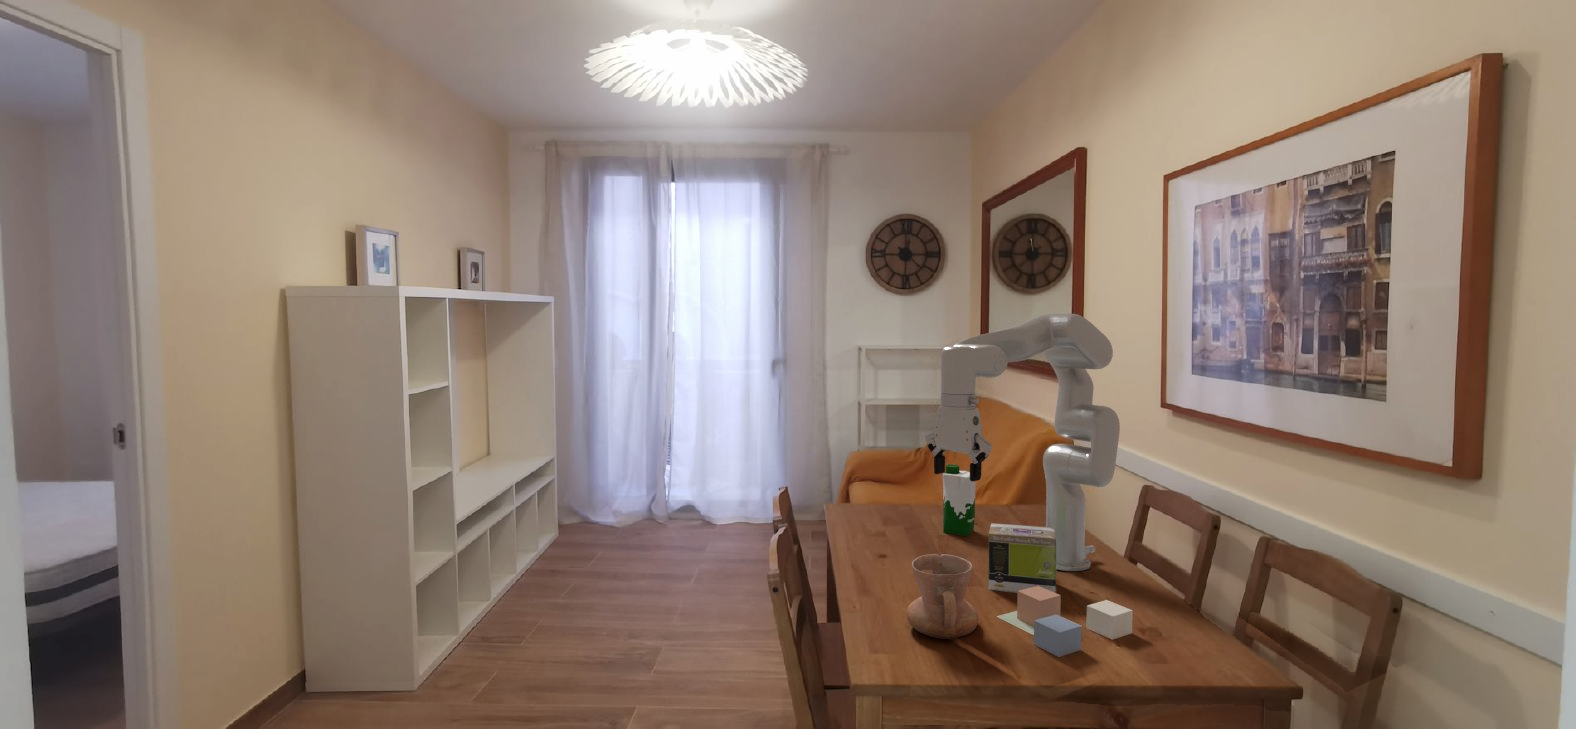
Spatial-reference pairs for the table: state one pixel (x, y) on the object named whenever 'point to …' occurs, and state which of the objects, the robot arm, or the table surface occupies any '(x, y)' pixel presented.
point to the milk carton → (958, 501)
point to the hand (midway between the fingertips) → (956, 476)
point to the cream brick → (1109, 619)
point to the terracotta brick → (1037, 604)
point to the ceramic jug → (942, 597)
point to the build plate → (1018, 622)
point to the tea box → (1021, 557)
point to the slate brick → (1057, 635)
